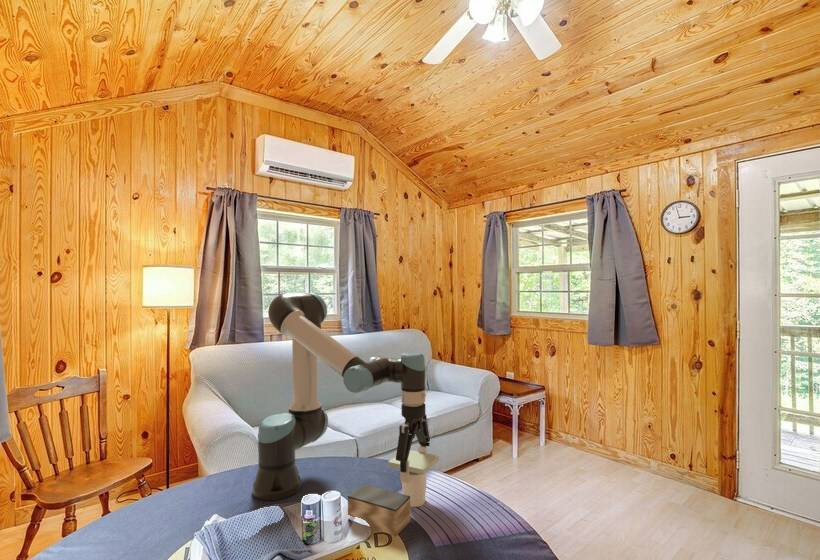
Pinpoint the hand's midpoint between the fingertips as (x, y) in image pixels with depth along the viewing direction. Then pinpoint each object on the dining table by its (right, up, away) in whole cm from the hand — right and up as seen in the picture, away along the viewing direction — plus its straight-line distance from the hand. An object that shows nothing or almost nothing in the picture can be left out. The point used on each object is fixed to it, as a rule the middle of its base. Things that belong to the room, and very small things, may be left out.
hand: (414, 474), depth 129 cm
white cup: (0, -9, 0) cm, 9 cm away
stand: (-10, -8, -11) cm, 17 cm away
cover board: (0, +3, 0) cm, 3 cm away
